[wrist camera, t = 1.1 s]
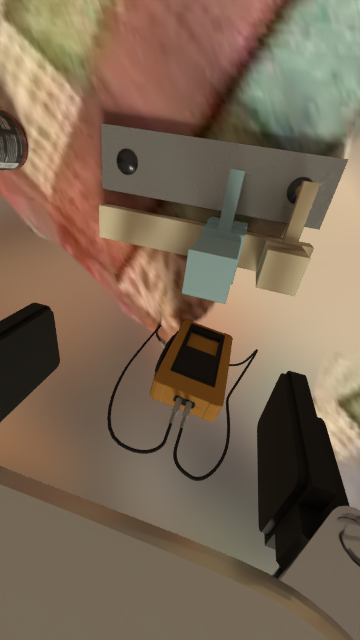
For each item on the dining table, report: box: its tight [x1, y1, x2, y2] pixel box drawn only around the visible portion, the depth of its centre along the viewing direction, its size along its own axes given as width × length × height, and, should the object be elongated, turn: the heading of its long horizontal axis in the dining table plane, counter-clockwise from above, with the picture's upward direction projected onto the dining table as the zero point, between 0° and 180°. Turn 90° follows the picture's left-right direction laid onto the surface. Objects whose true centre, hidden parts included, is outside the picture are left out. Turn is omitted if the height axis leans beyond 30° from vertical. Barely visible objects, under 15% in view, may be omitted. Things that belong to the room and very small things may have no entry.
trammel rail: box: [99, 181, 320, 296], centre depth 26 cm, size 24×9×7 cm, turn 83°
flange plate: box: [101, 123, 348, 229], centre depth 26 cm, size 24×6×1 cm, turn 83°
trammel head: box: [182, 169, 248, 304], centre depth 23 cm, size 4×10×12 cm, turn 173°
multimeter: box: [107, 320, 258, 481], centre depth 30 cm, size 15×10×20 cm
